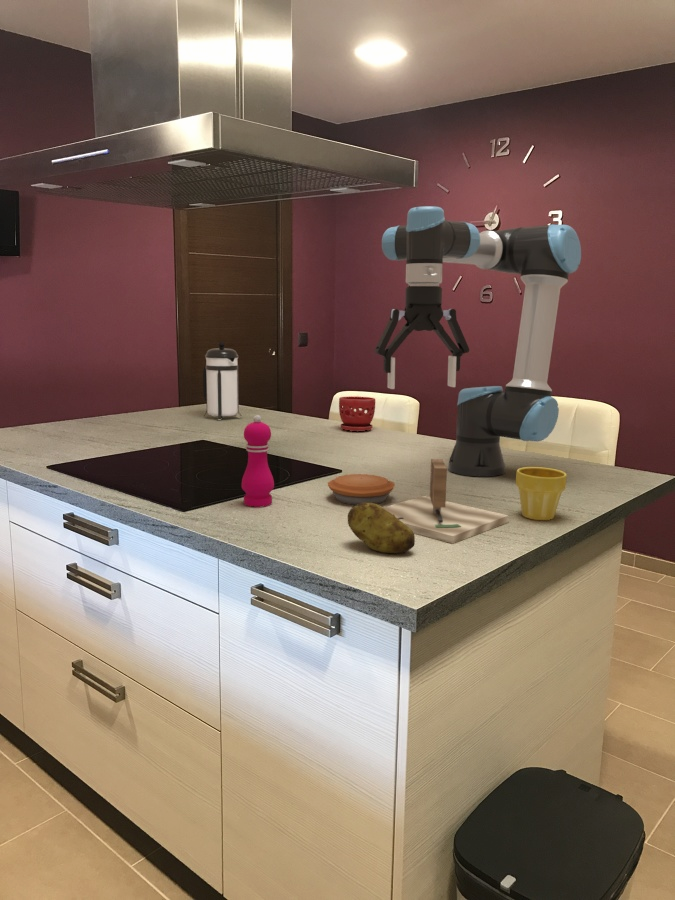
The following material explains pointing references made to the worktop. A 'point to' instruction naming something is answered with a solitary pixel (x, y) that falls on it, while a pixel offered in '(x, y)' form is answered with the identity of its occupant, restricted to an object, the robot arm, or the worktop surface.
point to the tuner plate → (445, 519)
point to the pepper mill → (257, 465)
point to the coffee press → (221, 382)
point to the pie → (361, 488)
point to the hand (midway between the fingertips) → (421, 387)
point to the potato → (380, 529)
